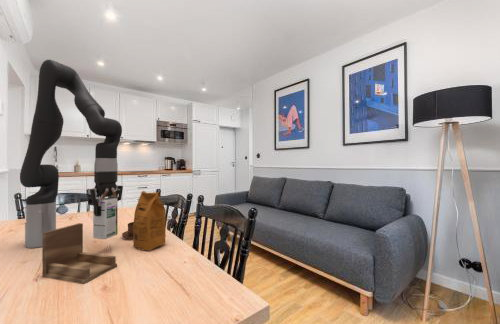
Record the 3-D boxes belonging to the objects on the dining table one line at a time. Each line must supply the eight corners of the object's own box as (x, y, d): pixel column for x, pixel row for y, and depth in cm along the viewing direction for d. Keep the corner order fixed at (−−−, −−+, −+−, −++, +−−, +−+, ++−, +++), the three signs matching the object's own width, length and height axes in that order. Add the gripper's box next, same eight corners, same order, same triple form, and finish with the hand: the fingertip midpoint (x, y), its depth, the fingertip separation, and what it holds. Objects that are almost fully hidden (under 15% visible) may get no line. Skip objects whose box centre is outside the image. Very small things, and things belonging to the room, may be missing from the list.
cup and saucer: (156, 235, 106) (156, 221, 106) (131, 242, 96) (131, 228, 96) (141, 231, 113) (141, 218, 113) (116, 237, 102) (116, 224, 102)
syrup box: (105, 239, 83) (106, 200, 83) (92, 238, 84) (92, 199, 84) (117, 234, 89) (118, 197, 89) (104, 233, 90) (105, 197, 90)
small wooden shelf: (42, 276, 67) (42, 232, 67) (79, 261, 78) (79, 223, 78) (83, 284, 63) (83, 237, 63) (116, 266, 73) (116, 226, 73)
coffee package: (151, 239, 100) (151, 189, 100) (169, 245, 92) (168, 191, 92) (128, 246, 91) (128, 191, 92) (145, 253, 84) (145, 194, 84)
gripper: (114, 169, 95) (113, 209, 95) (80, 170, 81) (79, 217, 81) (128, 169, 93) (128, 211, 93) (96, 171, 79) (95, 219, 79)
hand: (105, 214), depth 87 cm, fingers closed on syrup box, 6 cm apart
